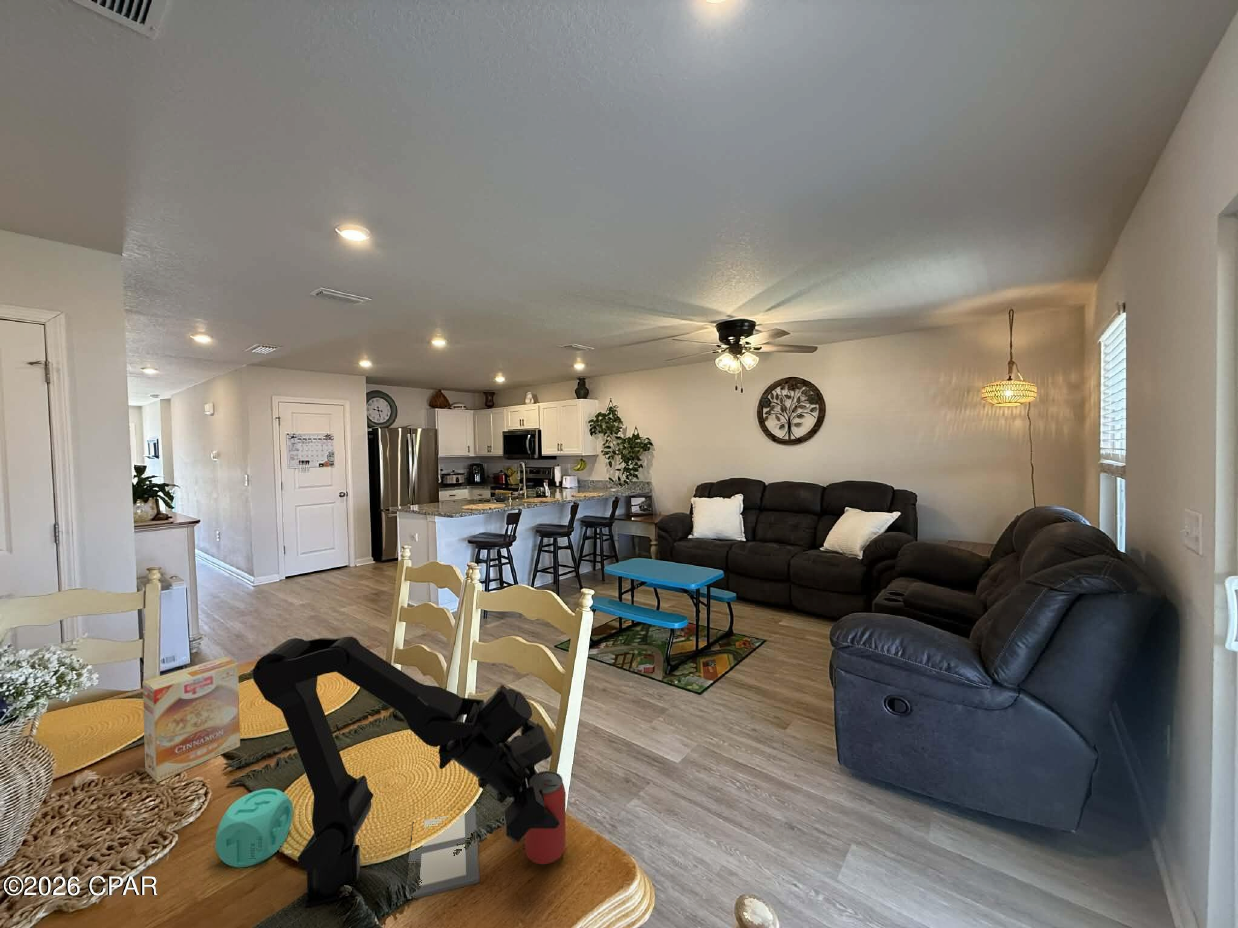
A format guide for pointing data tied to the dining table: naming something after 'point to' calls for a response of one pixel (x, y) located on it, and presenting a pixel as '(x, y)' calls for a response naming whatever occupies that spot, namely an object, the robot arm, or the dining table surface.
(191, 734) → the coffeecake box
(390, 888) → the dining table surface
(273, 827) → the decorative dice
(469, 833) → the label board
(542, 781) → the beer can
